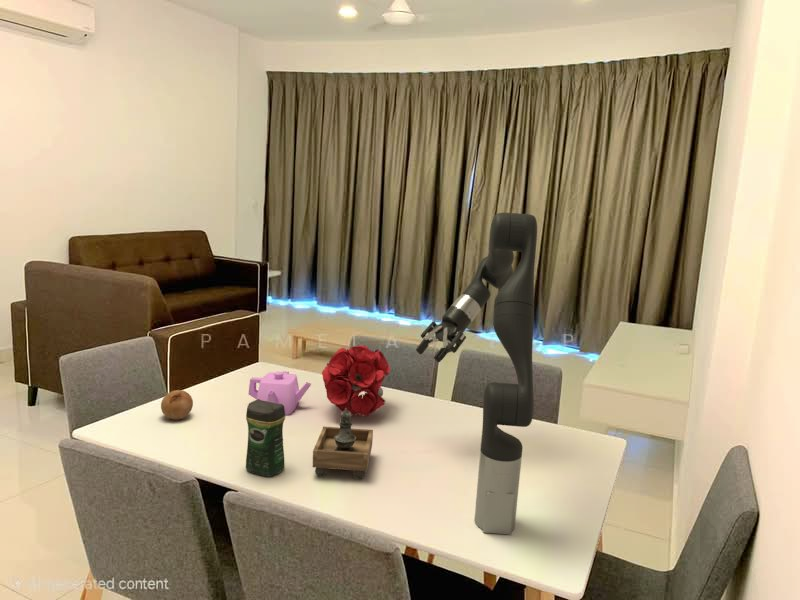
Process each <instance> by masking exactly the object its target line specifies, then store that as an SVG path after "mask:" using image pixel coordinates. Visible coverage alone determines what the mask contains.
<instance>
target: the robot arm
mask: <svg viewBox="0 0 800 600" xmlns="http://www.w3.org/2000/svg"><path fill="white" fill-rule="evenodd" d="M488 238H489V239H488V254H487V256H485V257H484V258H482V260H481V261H480V262H479V264H478V266H477V268H476V271H475V273H474V276H473V278H472V280H471V282H470V283H469V285H468V286H467V288H465V290H464V291H463V292H462V294H461V295H459V297H457V298H456V299H455V300H454V302H453V303H452V304H451V305H450V307H449V308H448V309H447V310H446V311H445V313H444V314H443V315H442V316H441V322H440V323H439V324H437V323H436V322H435V320H433V321H431V323H429V325H428V326H427V327H426V328H425V329H424V331H423V332H421V334H420V338H421V339H422V341H421V342H420V343H419V345H417V346H416V350H415V351H416V352H417V353H418V354H419V355H422V354H423V353H424V352H425V351H426V350H427V348H428V347H429V346H430V345H431V344H433V343H437V342H442V344H443V345H442V347H440V349H439V350H438V351H437V352H436V353H435V355H433V359H434V360H435V361H436V362H437V363H441V361H443V359H444V358H445V357H446V356H447V354H450V353H453V354H454V353H456V352H458V350H459V349H460V347H461V346H462V344H463V343H464V342H465V340H466V339H467V336H466V334H465V331H467V328H469V326H470V325H471V324H472V322H473V321H474V320H475V319H476V317H477V316H478V314H479V313H480V311H481V309H483V307H484V306H485V304H486V303H487V302H488V301H489V300H490V297H491V291H490V290H489V288H488V287H487V286H486V285H485V284H484V282H483V280H484V281H485V282H487V283H488V284H490V285H491V286H492V287H493V288H494V289H497V290H498V289H499V291H498V293H497V295H495V298H494V302H493V303H494V304H493V321H492V322H493V323H492V324H493V330H494V332H495V334H496V336H497V338H498V340H499V342H500V344H501V345H502V347H503V348H504V350H505V351H506V353H507V354H508V356H509V358H510V360H511V362H512V364H513V368H514V370H515V373H516V379H517V383H509V382H495V381H492V382H488V383H487V384H486V386H485V389H484V391H483V393H484V394H483V402H482V430H481V442H480V450H479V451H480V453H479V463H478V464H479V465H478V473H477V483H476V485H477V486H476V498H475V511H474V523H475V525H476V527H478V528H480V529H481V530H482V532H483V533H485V534H497V535H499V534H500V535H511V534H512V531H513V530H514V529H515V527H516V517H517V509H518V508H517V507H518V500H519V499H518V497H519V488H520V487H519V486H520V479H521V478H520V477H521V476H520V475H521V469H522V468H521V467H522V457H523V443H522V441H521V440H520V439H519V438H517V437H516V436H514V435H513V434H510V433H508V432H505V431H504V430H502V429H501V428H500V427H499V426H507V427H518V428H519V427H521V428H526V427H530V425H531V424H532V421H533V417H534V408H535V407H534V405H535V403H534V400H535V399H534V375H533V374H534V372H533V371H534V370H533V343H534V342H533V341H534V326H535V325H534V324H535V281H534V280H535V263H536V252H537V240H538V222H537V218H536V216H535V215H533V214H528V213H518V212H517V213H516V212H499V213H498V212H497V213H496V214H495V215H494V216H493V218H492V220H491V225H490V229H489V237H488ZM514 252H520V253H521V257H520V261H519V262H518V264H517V266H516V268H515V270H513V269H514V268H513V263H514V259H515V256H514V254H515V253H514Z"/></svg>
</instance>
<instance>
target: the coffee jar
mask: <svg viewBox="0 0 800 600" xmlns="http://www.w3.org/2000/svg"><path fill="white" fill-rule="evenodd" d="M285 419H286V415H285V410H284V405H283V404H277V403H273V402H268V401H262V400H260V399H254V400H253V401H251V402H249V403H248V404H247V409H246V416H245V420H246V423H247V434H248V435H247V449H246V457H245V458H246V459H245V469H246V471H248V472H250V473H252V474H256V475H259V476H265V477H271V476H275V475H278V474H279V473H281V472H282V471H283V469H285V451H284V438H283V437H284V435H283V434H284V433H283V427H284V422H285Z"/></svg>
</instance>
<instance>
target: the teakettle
mask: <svg viewBox="0 0 800 600" xmlns="http://www.w3.org/2000/svg"><path fill="white" fill-rule="evenodd" d="M257 384H259V385H258V388H257ZM248 386H249V387H248V395H249V396H250V397H252V398H254V400H257V399H260V400H262V401H268V402H273V403H277V404H283V405H284V410H285V416H290V415H292V413H293V412H295V410H296V409H297V407H298V404H299V402H300V401H301V399H302V397H303V396H304V395H305V394H306V393H307V391H308V390H309V388H310V387H311V386H312V383H311V382H305V384H304V385H303V386H301V387H300V388H299V382H298V376H297V374H296V373H290V371H284V370H283V371H275V372H268V373H267V374H264V376H263V377H253V376H252V377H251V378H250V379H249V385H248Z"/></svg>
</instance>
